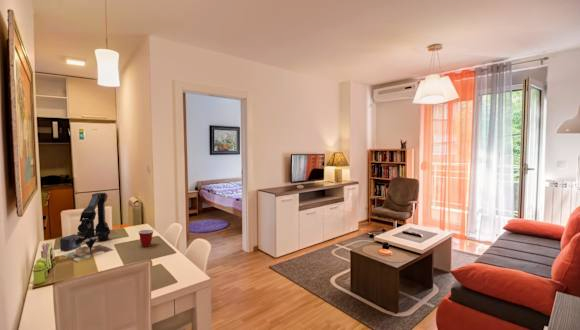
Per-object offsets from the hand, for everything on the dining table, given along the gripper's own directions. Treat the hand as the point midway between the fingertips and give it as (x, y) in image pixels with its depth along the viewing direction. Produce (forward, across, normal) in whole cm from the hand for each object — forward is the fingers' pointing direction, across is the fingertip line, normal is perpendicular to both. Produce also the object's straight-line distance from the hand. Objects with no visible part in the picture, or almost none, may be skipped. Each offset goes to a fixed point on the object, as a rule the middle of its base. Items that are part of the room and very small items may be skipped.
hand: (90, 249), depth 197 cm
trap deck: (+3, 0, 0) cm, 3 cm away
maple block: (+2, +4, 0) cm, 5 cm away
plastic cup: (+4, -30, +19) cm, 36 cm away
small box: (+3, +4, -19) cm, 20 cm away
